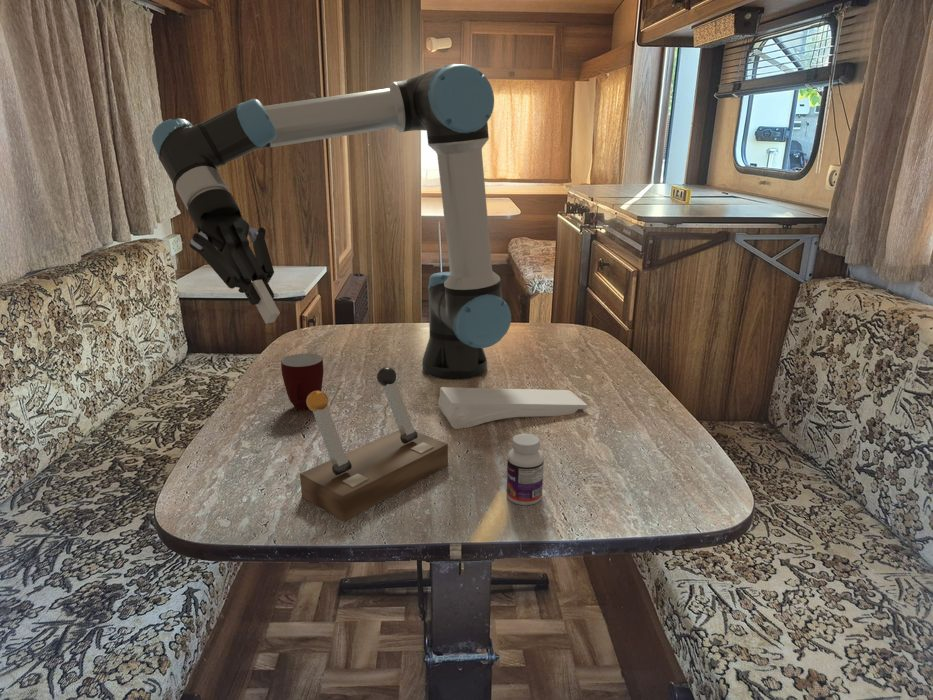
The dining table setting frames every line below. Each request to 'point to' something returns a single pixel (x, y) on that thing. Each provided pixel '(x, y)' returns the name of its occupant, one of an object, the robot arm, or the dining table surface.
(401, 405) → the black knob lever
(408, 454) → the switch box
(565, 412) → the wall bracket
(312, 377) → the mug
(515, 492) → the pill bottle
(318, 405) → the orange knob lever
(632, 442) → the dining table surface
